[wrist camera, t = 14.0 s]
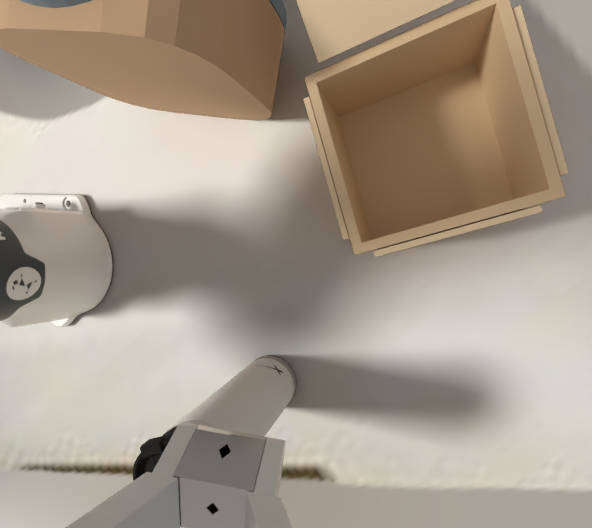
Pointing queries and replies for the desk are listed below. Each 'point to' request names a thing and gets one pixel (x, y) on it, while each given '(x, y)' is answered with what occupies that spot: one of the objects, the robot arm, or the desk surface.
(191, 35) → the alarm clock
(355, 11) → the flap
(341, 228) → the carton
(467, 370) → the desk surface
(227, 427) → the travel mug
